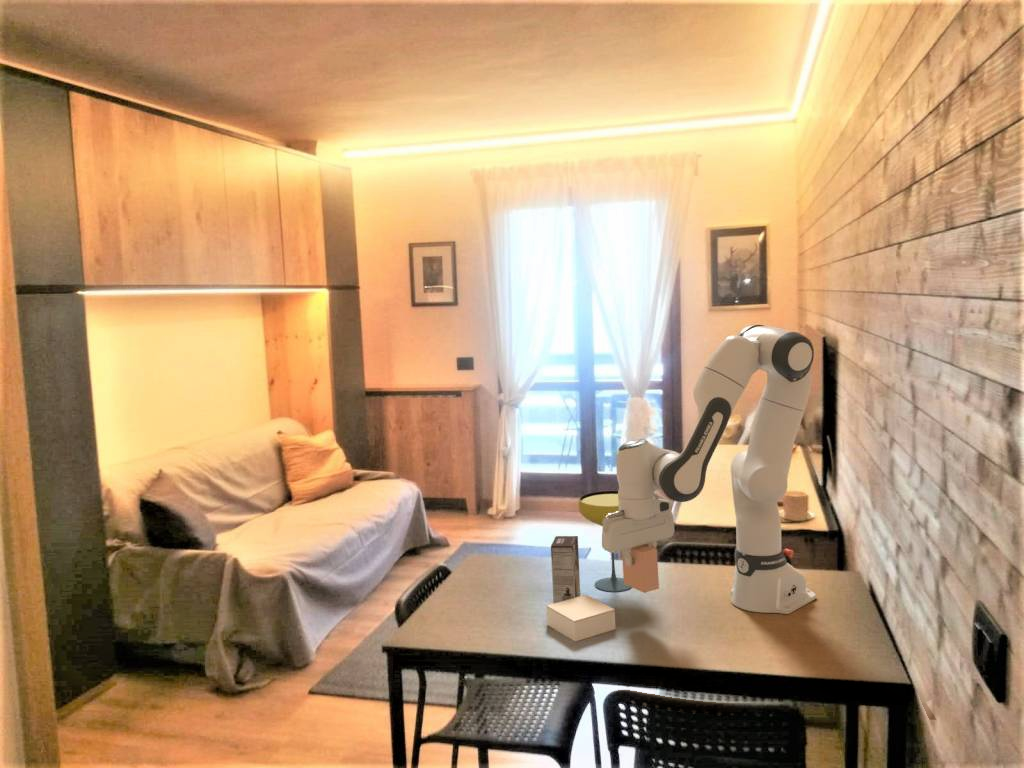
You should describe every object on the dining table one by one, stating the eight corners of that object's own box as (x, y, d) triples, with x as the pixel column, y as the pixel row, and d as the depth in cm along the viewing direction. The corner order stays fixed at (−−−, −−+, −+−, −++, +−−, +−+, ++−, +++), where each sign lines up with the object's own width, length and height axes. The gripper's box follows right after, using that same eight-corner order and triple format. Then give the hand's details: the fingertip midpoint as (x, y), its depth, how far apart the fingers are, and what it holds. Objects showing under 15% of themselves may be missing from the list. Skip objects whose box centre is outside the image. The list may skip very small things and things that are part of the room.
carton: (638, 579, 195) (635, 541, 194) (659, 588, 188) (656, 548, 187) (623, 583, 193) (621, 544, 192) (644, 592, 186) (642, 552, 185)
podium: (586, 613, 199) (586, 594, 198) (615, 629, 188) (614, 609, 188) (547, 624, 193) (546, 605, 192) (574, 641, 182) (574, 621, 182)
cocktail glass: (585, 573, 229) (582, 490, 226) (647, 574, 225) (644, 490, 223) (578, 595, 211) (574, 506, 209) (645, 597, 207) (642, 506, 205)
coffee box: (557, 591, 215) (555, 535, 214) (580, 592, 214) (578, 535, 212) (552, 604, 206) (550, 545, 205) (576, 604, 205) (574, 545, 203)
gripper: (610, 517, 180) (613, 575, 182) (677, 501, 190) (679, 556, 192) (594, 512, 186) (598, 568, 187) (660, 497, 196) (662, 550, 197)
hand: (639, 561), depth 190 cm, fingers closed on carton, 4 cm apart
